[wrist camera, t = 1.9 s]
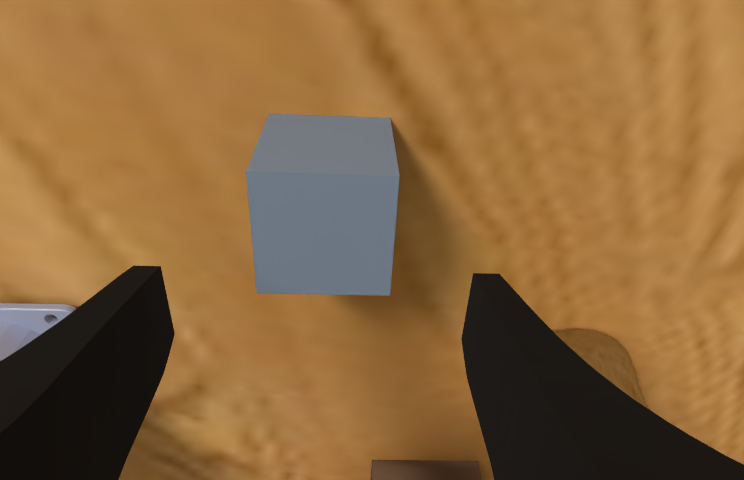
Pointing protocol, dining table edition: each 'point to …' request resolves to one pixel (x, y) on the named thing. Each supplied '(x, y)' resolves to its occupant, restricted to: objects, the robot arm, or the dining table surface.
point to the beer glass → (605, 359)
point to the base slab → (424, 470)
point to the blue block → (323, 205)
